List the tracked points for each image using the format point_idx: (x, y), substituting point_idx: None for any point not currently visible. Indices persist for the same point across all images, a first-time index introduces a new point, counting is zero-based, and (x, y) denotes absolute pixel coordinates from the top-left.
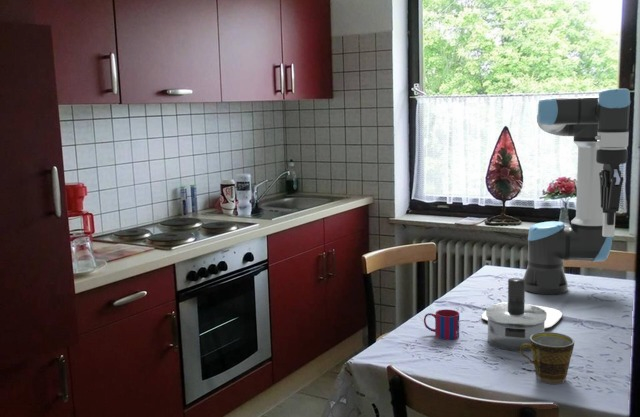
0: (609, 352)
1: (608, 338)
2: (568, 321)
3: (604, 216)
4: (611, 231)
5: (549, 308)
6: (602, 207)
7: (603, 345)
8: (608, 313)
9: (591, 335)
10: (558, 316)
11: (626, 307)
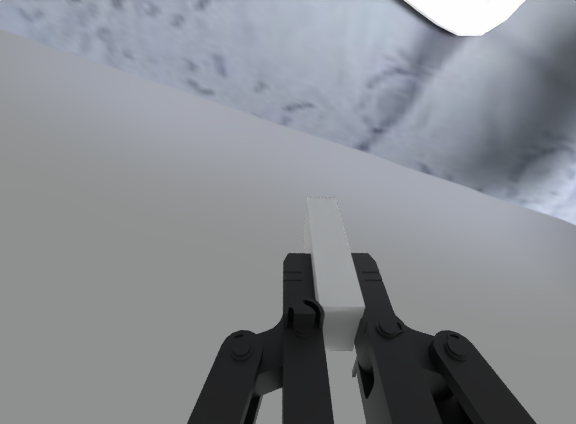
0: (232, 80)
1: (308, 102)
2: (422, 43)
3: (321, 281)
4: (306, 243)
5: (508, 7)
6: (434, 337)
7: (270, 79)
8: (447, 146)
9: (327, 71)
10: (440, 17)
11: (468, 187)
